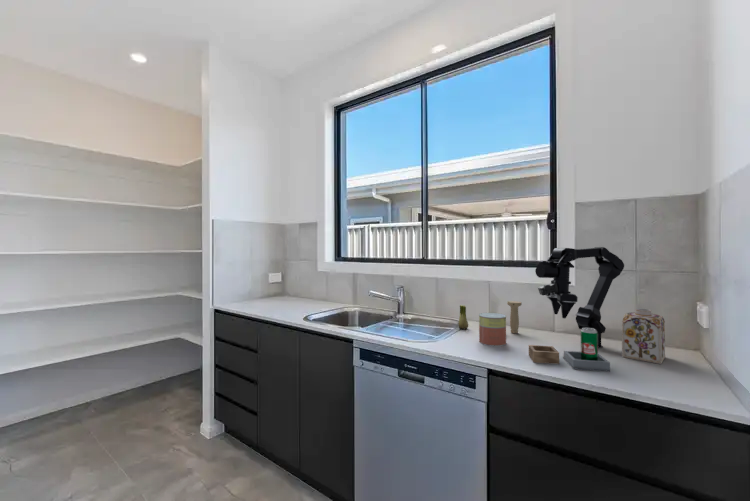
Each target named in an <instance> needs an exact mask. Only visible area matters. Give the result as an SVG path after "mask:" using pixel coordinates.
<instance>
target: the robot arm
mask: <svg viewBox="0 0 750 501" xmlns="http://www.w3.org/2000/svg"><path fill="white" fill-rule="evenodd" d="M584 258H587V259H588V258H594V259H595V263H596V264H597V265H598V274H599V276H598V278H597V280H596V283H595V285H594V288H593V290H592V292H591V295H590V297H589V299H588V302H586V305H585V306H584V307H582V306H580V307H579V308H578V309H577V313H575V316H576V317H575V321H576V324H577V326H578V329H579V330H582V328H594V329H596V331H597V332H598V348H604V346H603V345H602V334H604V333H605V332H606V329H607V328H606V326H605V325H604V324H603V323H602V322H601V320H602V314H601V308H602V306H603V304H604V301H605V299H606V297H607V294H608V292H609V290H610V287H611V286H612V283H613V280H615V279H616V278H618V277H619V276H620V275H621V273H622V271H623V270H624V268H625V263H624V261H623V259H622V258H620V257H619V256H618V255H617V254H614V253H613V252H611V251H609V249H608V248H606V247H604V246H595V247H590V248H589V247H588V248H587V247H586V248H579V249H578V248H571V247H570V248H569V247H555V248H553V250H552V252H551V254H550V255H549V256H548V258H547V260H539V263H538V264H537V265H536V268H535V270H534V271H535V276H536V277H537V278H540V279H541V278H543V279H552V280H550V283H548V284H544V285H540V286H538V287H537V290H538V293H539V295H541V296H546V298H547V299H548V300H549V301H550V302H551V306H552V310H553V314H554V315H558V314H559V311H560V310H561V318H562V319H566V318H567V317H568V315H569V313H570V312H571V309H572V308H573V307H574V305H575V304H576V303H577V302H578V298H579V297H578V296H577V295H576V294H574V293H571V291H569V290H570V285H571V284H572V281H570V272H571V271H570V269H571V268H572V269H573V268H575V265H574V264H573V263H572V262H573V261H576V260H577V259H584Z"/></svg>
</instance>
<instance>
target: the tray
mask: <svg viewBox="0 0 750 501" xmlns="http://www.w3.org/2000/svg"><path fill="white" fill-rule="evenodd" d="M563 359H564V361H565V362H566V363H567V364H568V365H569V367H571V368H572V369H573V370H582V371H583V370H585V371H597V372H598V371H599V372H611V362H610V361H608V359H606V358H605V357H603V356H602V355H601V354H600V353H598V361H593V360H581V351H576V350H572V351H571V350H563Z"/></svg>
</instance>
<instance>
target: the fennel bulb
mask: <svg viewBox="0 0 750 501" xmlns="http://www.w3.org/2000/svg"><path fill="white" fill-rule="evenodd" d="M458 328H459V329H461V330H467V329H468V328H469V322H468V319H467V306H466V305H462V304H460V305H459V318H458Z"/></svg>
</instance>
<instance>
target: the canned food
mask: <svg viewBox="0 0 750 501" xmlns="http://www.w3.org/2000/svg"><path fill="white" fill-rule="evenodd" d="M478 332H479V333H478V337H479V338H478V343H480V344H481V345H483V346H488V347H503V346H506V345H507V315H506V314H503V313H497V312H483V313H479V314H478Z"/></svg>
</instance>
